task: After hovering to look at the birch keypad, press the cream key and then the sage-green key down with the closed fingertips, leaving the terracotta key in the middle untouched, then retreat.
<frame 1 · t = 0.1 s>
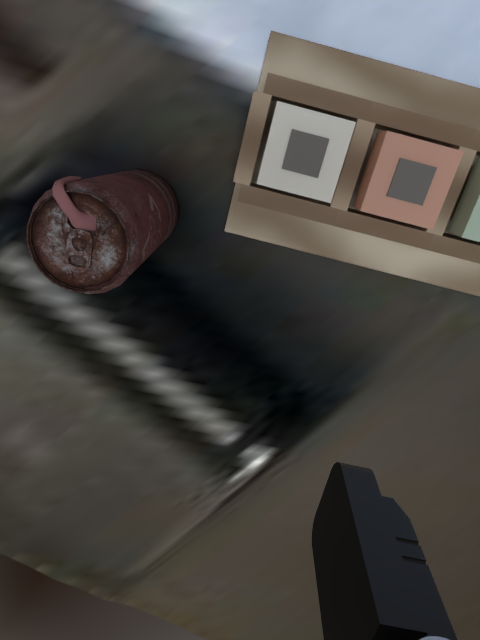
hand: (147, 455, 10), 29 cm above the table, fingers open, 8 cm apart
terracotta key: (405, 180, 30), point 5 cm above the table, slide at 0.0 cm
can: (141, 206, 37), on the table
cream key: (303, 153, 30), point 5 cm above the table, slide at 0.0 cm
keypad board: (385, 175, 35), on the table
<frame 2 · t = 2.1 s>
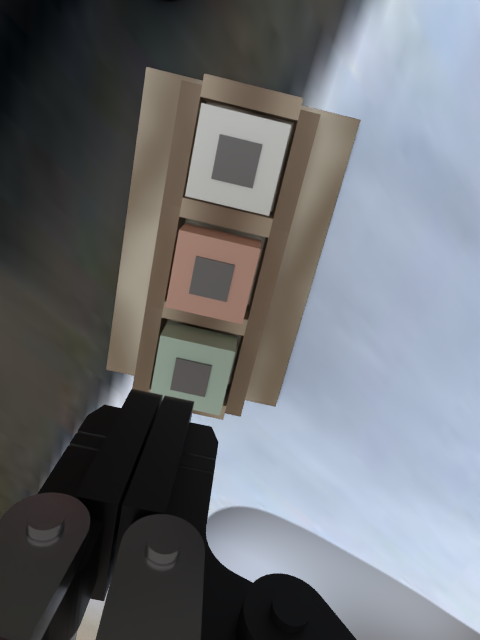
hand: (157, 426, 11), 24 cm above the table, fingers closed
terracotta key: (213, 273, 29), point 5 cm above the table, slide at 0.0 cm
cream key: (237, 160, 27), point 5 cm above the table, slide at 0.0 cm
sage key: (193, 368, 32), point 5 cm above the table, slide at 0.0 cm
keypad board: (220, 254, 34), on the table
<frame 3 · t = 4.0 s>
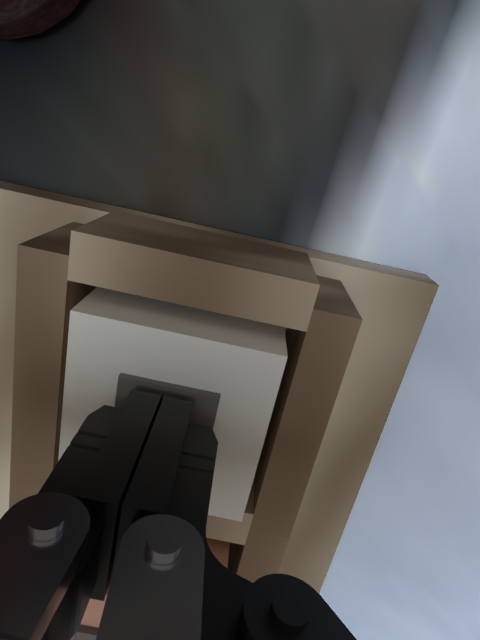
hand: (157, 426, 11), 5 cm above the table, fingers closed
terracotta key: (128, 620, 14), point 5 cm above the table, slide at 0.0 cm
cream key: (172, 400, 12), point 4 cm above the table, slide at 1.2 cm, touching gripper
keypad board: (164, 492, 19), on the table
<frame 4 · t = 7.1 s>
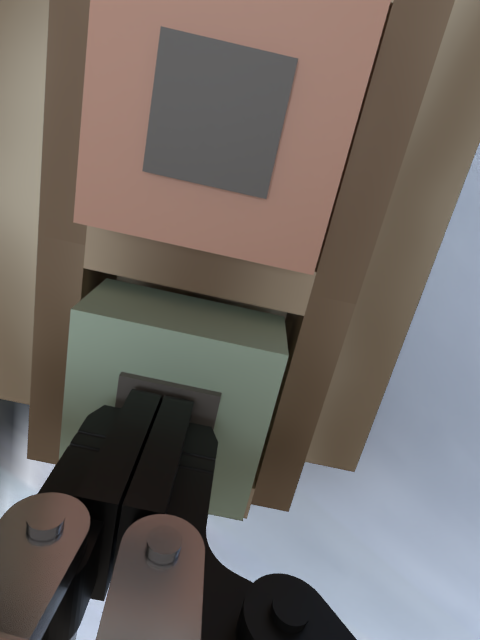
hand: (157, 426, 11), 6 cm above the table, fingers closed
terracotta key: (222, 120, 9), point 5 cm above the table, slide at 0.0 cm
sage key: (172, 399, 12), point 5 cm above the table, slide at 0.3 cm, touching gripper
keypad board: (236, 128, 14), on the table
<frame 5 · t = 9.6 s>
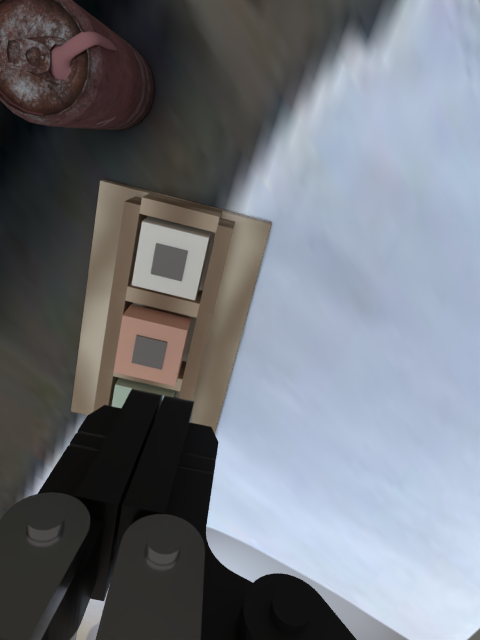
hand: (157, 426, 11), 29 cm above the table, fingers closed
terracotta key: (152, 345, 37), point 5 cm above the table, slide at 0.0 cm
can: (117, 86, 35), on the table
cream key: (171, 258, 35), point 4 cm above the table, slide at 1.5 cm
sage key: (142, 408, 41), point 4 cm above the table, slide at 1.4 cm
keypad board: (164, 321, 42), on the table
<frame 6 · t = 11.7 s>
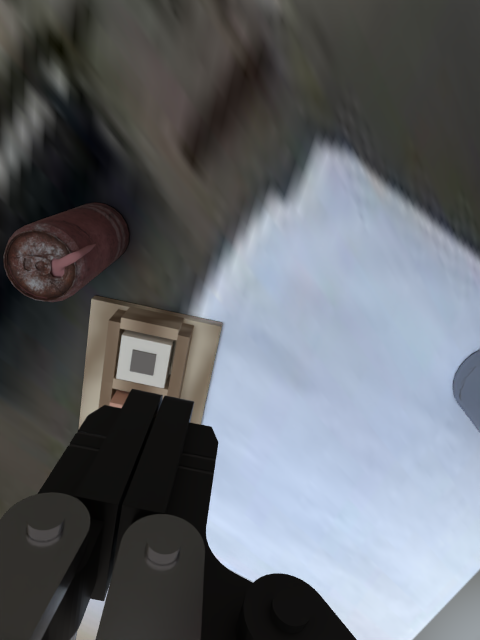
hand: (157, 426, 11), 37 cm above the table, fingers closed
terracotta key: (133, 421, 49), point 5 cm above the table, slide at 0.0 cm
can: (102, 231, 47), on the table
cream key: (145, 357, 47), point 4 cm above the table, slide at 1.5 cm
keypad board: (145, 395, 54), on the table
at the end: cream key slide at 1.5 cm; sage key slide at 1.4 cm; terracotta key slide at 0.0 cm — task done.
